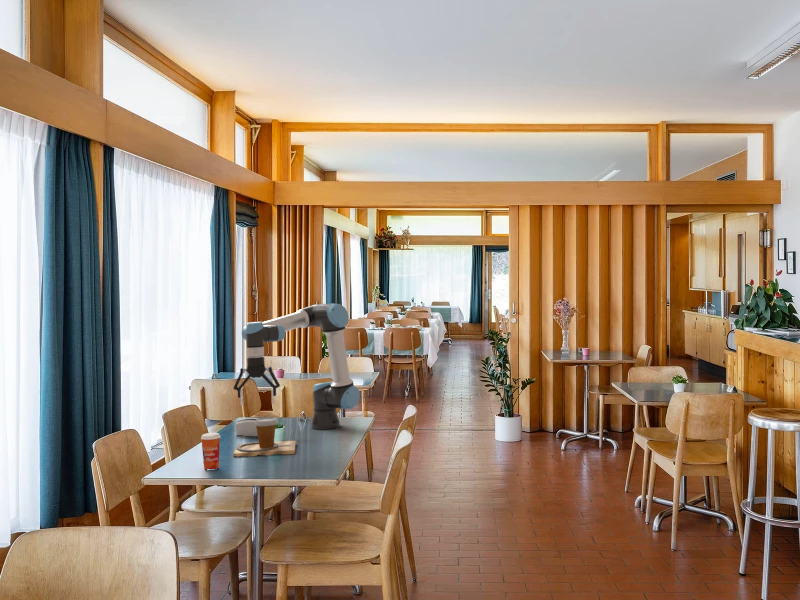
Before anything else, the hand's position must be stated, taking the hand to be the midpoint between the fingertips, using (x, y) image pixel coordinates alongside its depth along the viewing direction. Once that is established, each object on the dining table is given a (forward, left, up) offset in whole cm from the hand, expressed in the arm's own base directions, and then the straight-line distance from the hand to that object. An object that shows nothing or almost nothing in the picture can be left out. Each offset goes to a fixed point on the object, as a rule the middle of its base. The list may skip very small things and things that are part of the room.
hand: (257, 404), depth 310 cm
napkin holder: (+6, -36, -21) cm, 42 cm away
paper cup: (+16, +30, -21) cm, 40 cm away
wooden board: (-3, +1, -21) cm, 21 cm away
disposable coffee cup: (-3, 0, -19) cm, 20 cm away
